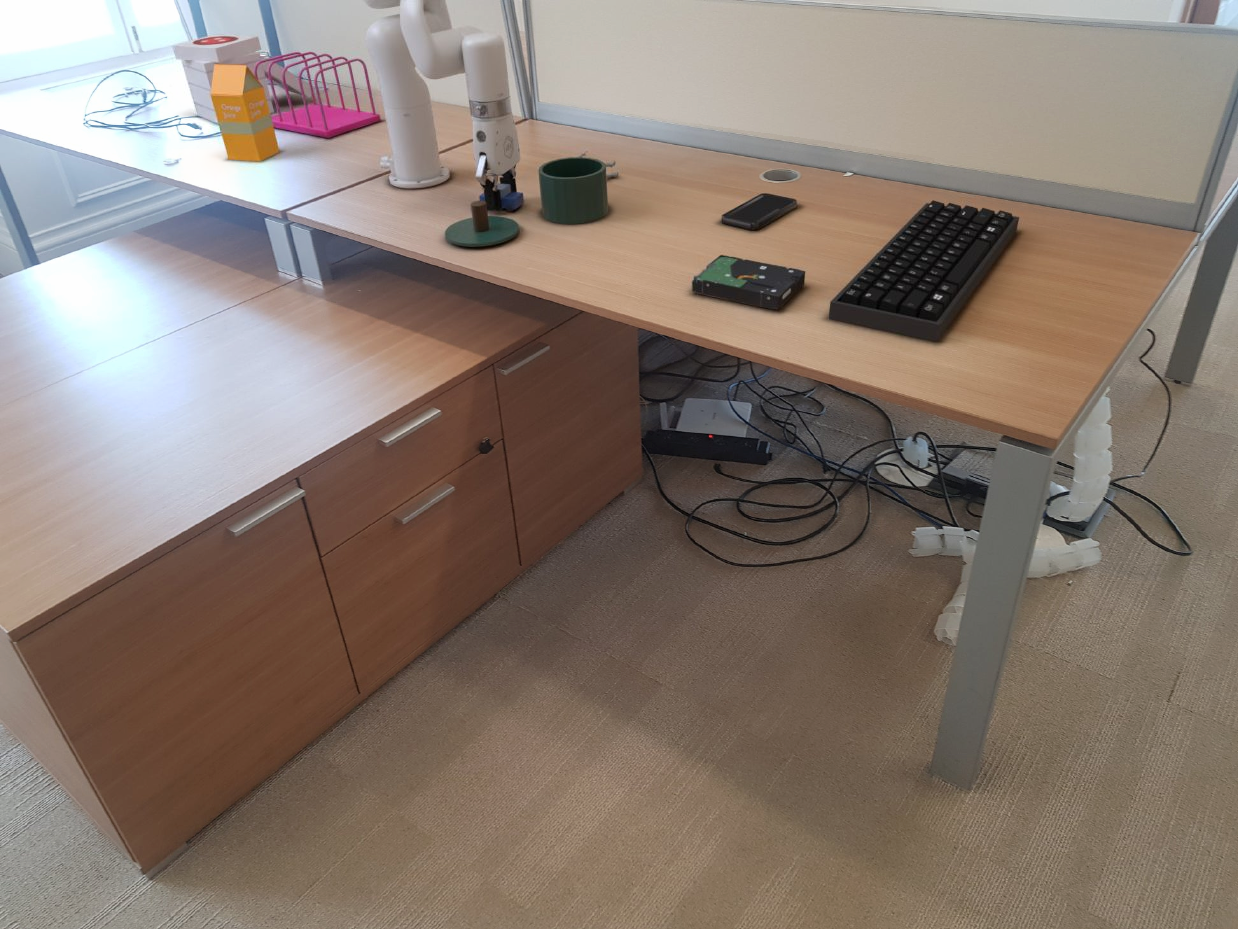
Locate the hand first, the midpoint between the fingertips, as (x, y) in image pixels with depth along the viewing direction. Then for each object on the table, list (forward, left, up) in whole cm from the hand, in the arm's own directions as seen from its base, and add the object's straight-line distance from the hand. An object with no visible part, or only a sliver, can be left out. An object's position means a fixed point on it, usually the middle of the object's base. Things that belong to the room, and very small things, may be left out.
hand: (502, 203), depth 181 cm
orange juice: (-73, +17, -1) cm, 75 cm away
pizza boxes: (-101, +52, -1) cm, 114 cm away
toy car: (0, 0, -1) cm, 1 cm away
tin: (+15, +1, -1) cm, 15 cm away
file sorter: (-73, +44, -1) cm, 85 cm away
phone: (+49, +8, -1) cm, 50 cm away
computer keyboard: (+81, -10, -1) cm, 82 cm away
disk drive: (+55, -24, -1) cm, 60 cm away
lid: (+3, -14, 0) cm, 14 cm away
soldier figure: (+11, +18, -1) cm, 21 cm away
